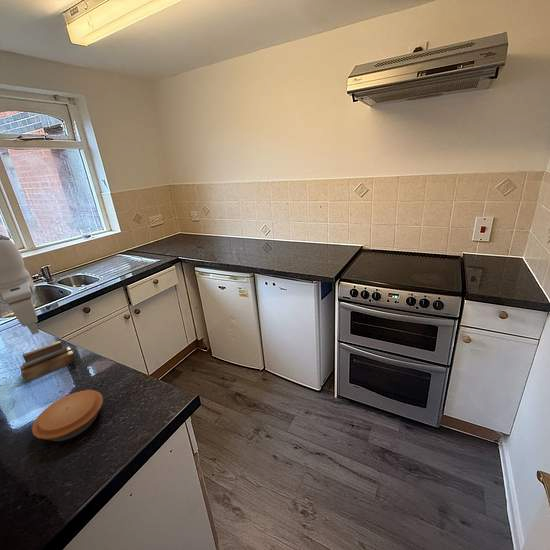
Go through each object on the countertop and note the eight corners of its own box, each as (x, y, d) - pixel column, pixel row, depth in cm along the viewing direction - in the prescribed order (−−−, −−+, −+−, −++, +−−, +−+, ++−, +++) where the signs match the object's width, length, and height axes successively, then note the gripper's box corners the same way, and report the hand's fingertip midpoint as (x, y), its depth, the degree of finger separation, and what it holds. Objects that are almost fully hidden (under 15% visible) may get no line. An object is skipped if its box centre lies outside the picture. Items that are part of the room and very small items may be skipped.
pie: (22, 441, 73) (14, 426, 72) (80, 395, 87) (74, 382, 85) (65, 457, 68) (57, 441, 66) (119, 406, 81) (114, 391, 80)
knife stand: (27, 386, 93) (21, 374, 92) (25, 377, 98) (20, 366, 96) (77, 364, 102) (73, 353, 100) (74, 357, 106) (69, 346, 105)
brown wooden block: (28, 377, 95) (19, 358, 92) (28, 375, 96) (18, 356, 94) (71, 359, 102) (63, 341, 100) (70, 357, 103) (63, 339, 101)
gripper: (1, 283, 95) (19, 321, 100) (2, 301, 80) (24, 344, 85) (26, 277, 98) (42, 314, 104) (31, 292, 84) (50, 334, 89)
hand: (34, 327), depth 94 cm, fingers open, 8 cm apart
